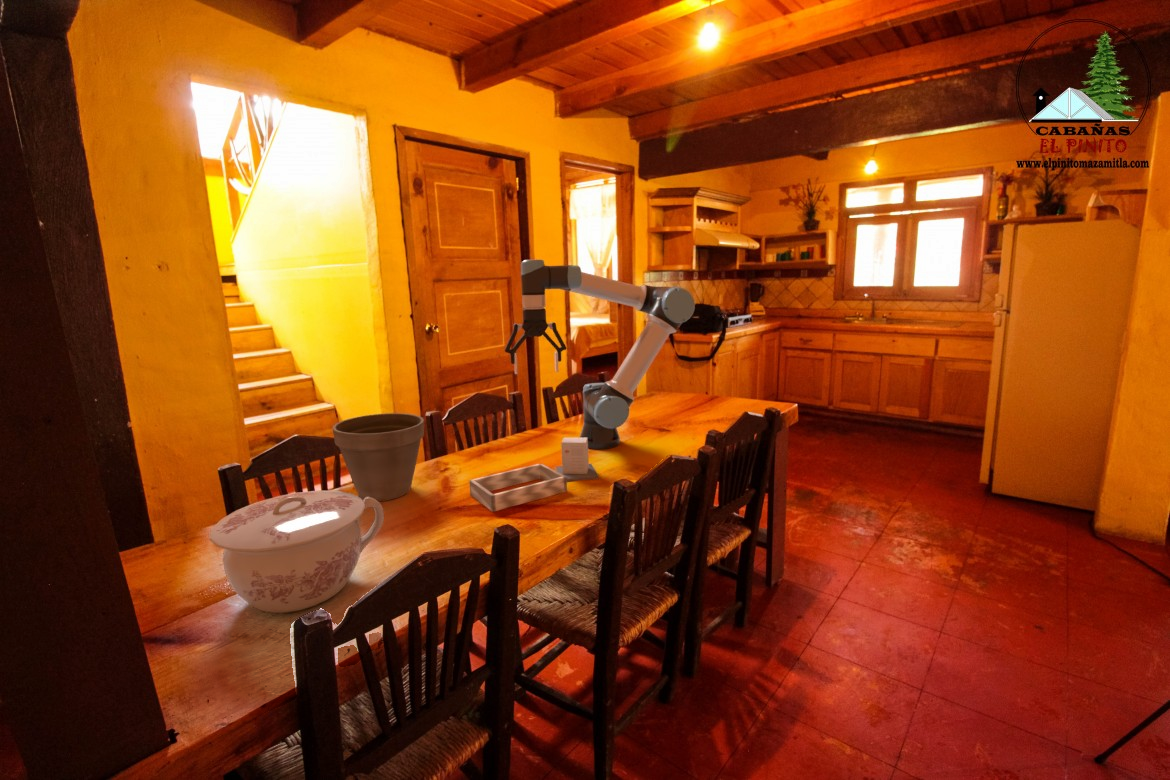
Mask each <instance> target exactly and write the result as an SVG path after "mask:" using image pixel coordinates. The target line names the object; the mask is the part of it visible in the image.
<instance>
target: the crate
mask: <svg viewBox="0 0 1170 780" xmlns="http://www.w3.org/2000/svg"><path fill="white" fill-rule="evenodd" d="M540 479H541V480H542V481H540V482H536V483H532V484H528V485H524V486H521V487H516V488H512V489H508V490H504V491H501V492H500V491H499V492H497V493H492V492H493V491H497V490H500V489H503V488H509V487H512V486H515V485H520V484H524V483H528V482H531V481H537V480H540ZM468 481H469V492H470V493H469V494H470V496H472V498H474V499H475V500H477V501H478V502H479V503H481V504H482V505H483V507H484V506H485V507H486V508H487V509H488V510H489V511H491V512H493V513H494V512H497V511H500V510H504V509H507V508H512V507H516V506H518V505H522V504H523V505H524V504H526V503H529V502H533V501H537V500H541V499H544V498H548V497H551V496H554V495H558V494H562V493H566V492H568V481H567V477H566V476H564V475H562V474H560V473H558V472H557V471H556V469H555V470H554V469H553V468H551V467H549V466H547V465H545V464H543V463H536V464H531V465H529V466H528V465H527V466H523V467H520V468H515V469H511V470H507V471H502V472H499V473H494V474H490V475H489V474H488V475H486V476H482V477H477V478H472V479H469V480H468Z"/></svg>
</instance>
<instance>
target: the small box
mask: <svg viewBox="0 0 1170 780" xmlns="http://www.w3.org/2000/svg"><path fill="white" fill-rule="evenodd" d="M560 444H561V463H562V464H561V466H562V470H563V474H587V472H588V468H589V464H590V463H589V448H588V438H580V437H563V439H562V440H561V443H560Z"/></svg>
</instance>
